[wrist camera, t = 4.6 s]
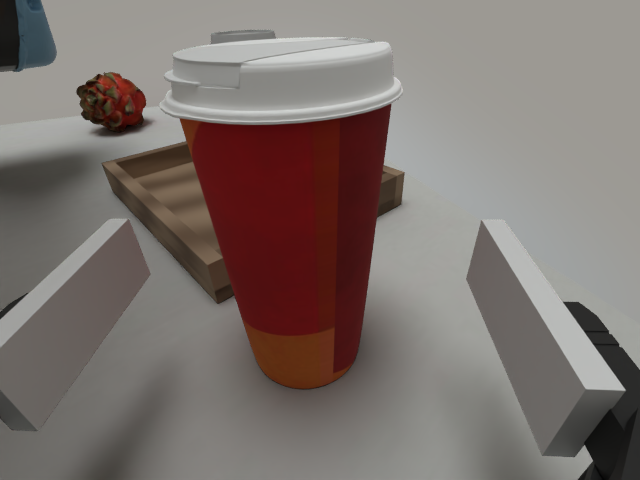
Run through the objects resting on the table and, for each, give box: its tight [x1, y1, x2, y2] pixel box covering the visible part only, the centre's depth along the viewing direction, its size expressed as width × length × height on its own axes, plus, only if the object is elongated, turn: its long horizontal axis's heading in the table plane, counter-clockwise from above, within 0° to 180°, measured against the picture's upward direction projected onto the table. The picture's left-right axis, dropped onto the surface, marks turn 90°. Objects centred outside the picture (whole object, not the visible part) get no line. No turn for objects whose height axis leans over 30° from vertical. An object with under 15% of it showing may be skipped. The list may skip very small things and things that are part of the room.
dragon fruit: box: [77, 72, 146, 132], centre depth 53 cm, size 8×8×12 cm
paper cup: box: [159, 37, 403, 389], centre depth 15 cm, size 8×8×14 cm
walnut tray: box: [102, 141, 405, 303], centre depth 33 cm, size 22×18×3 cm
